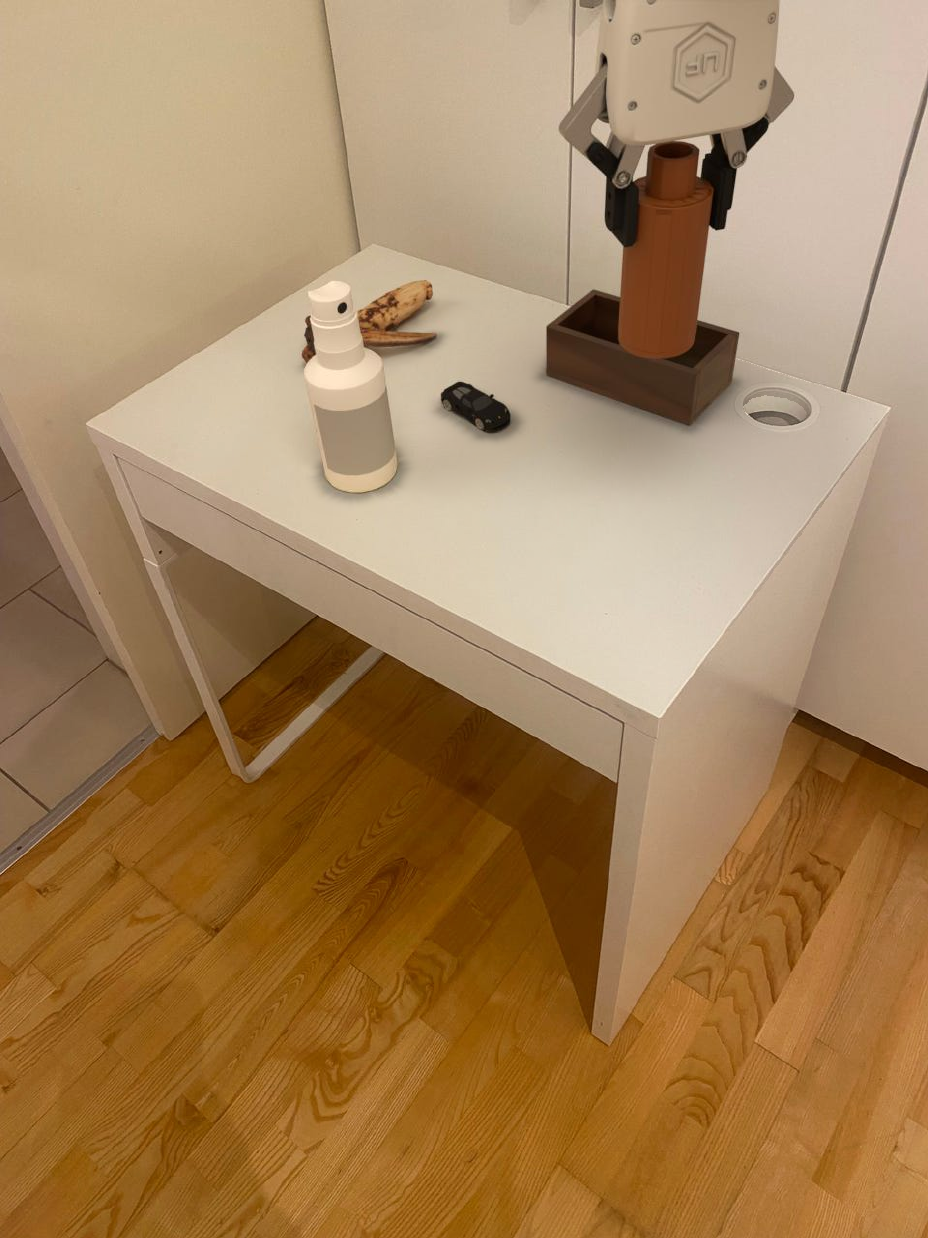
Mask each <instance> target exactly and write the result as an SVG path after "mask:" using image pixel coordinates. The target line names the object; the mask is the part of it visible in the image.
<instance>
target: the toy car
mask: <svg viewBox="0 0 928 1238" xmlns="http://www.w3.org/2000/svg"><path fill="white" fill-rule="evenodd" d="M494 396H495V395H494V394H493V393H492V394H487V393H485V392H483V391H481V390H480V389H478V388H476V387H475V386H474V385H472V384H471V383H466V382H464V381H460V380H459V381H457V382H455V383H452V384H451V385H449V386H447V387H446V388H444V389H443V391H442V392H441V393H440V402H441V403H442V404H443V407H444V408H445V409H446V411H448V412H451V411H453V412H454V413H455V414H457V415H459V416H461V417H463V418H464V419H466V420H467V421H468V422H470V423H472V424H473V425H474V426H476V427H477V428H478V429H479V430H481V431H484V432H491V433H493V432H498V431H500V430H502V429H504V428H506V427H507V426H508V425H509V424H510V423H511V420H512V419H511V412H510V409H509V408H508V406H507V405H506V404H505V403H503V402H501V401H499V400H497V399H496V398H494Z"/></svg>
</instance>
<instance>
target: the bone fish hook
mask: <svg viewBox="0 0 928 1238" xmlns="http://www.w3.org/2000/svg"><path fill="white" fill-rule="evenodd" d="M433 295H434V292H433V284H432V283H431V282H430V281H427V279H424V280H415V281H414V280H413V281H411V282H407V283H406V284H403V285H401V286H399V287H397V288H395V289H394V290H391V291H388V292H385V294H383V295H382V296H380V297H378V298H376V299H375V300H373V301H372V302H370V303H369V304H368V305H366V306H365V307H364V308H361V309H359V310H356V311H357V314H358V320H359V326H360V333H361V335H362V339H363V345H364V347H365V348H367V347H368V348H369V347H372V348H395V347H396V348H397V347H410V346H418V345H423V344H426V343H429V342H431V341H433V340H435V339H436V338H437V336H438V335H437V333H434V332H418V331H417V332H416V331H415V332H414V331H392V330H393V329H396V327H397V326H398V325H399V324H400V323H401V322H403V321H404V320H406V319H407V318H409V317H410V316H411V315H412V314H413V313H414V312H415V311H418V310H419V309H420V308H421V307H423V306H424V305H425V304H426V301H429V300H432V298H433ZM310 318H311V315H307V316H306V317H305V319H304V322H305V324H306V328H305V329H304V330H305V331H304V334H303V336H304V338H305V341H306V345H305V346H304V348H303V350H302V351H301V358H302V359H303V360H304V361H305V363H306V364H307V363H308V362H309V361H310V360H311V359H312V357H313V356H315V355H316V351H315V346H314V336H313V331H312V326H311V321H310Z"/></svg>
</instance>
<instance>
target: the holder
mask: <svg viewBox="0 0 928 1238" xmlns="http://www.w3.org/2000/svg"><path fill="white" fill-rule="evenodd" d="M619 308H620V296H618V295H614V294H611V293H607V292H604V291H601V290H598V289H591V290H590V291H589V292H587V293H586V294H585V295H584V296H583V297H581V298H580V299H579V300H577V301H576V302H575V303H573V305H571V306H570V307H569V308H567V309H566V310H565V311H563V312H562V313H561V314H560V315H558V316H557V317H556V318H555V319H553V320H552V321H551V322H550V323H548V324H547V325H546V326H545V329H546V330H545V332H546V334H545V335H546V338H545V339H546V340H545V343H546V344H545V345H546V348H545V351H546V352H545V353H546V357H545V359H546V362H545V363H546V364H545V365H546V366H545V367H546V368H545V369H546V370H545V373H546V374H545V375H546V376H547V377H550V378H553V379H556V380H558V381H561V382H564V383H566V384H570V385H573V386H575V387H578V388H581V389H584V390H586V391H589V392H592V393H595V394H598V395H600V396H604V397H607V398H609V399H611V400H615V401H618V402H620V403H624V404H626V405H630V406H632V407H635V408H638V409H641V410H643V411H646V412H648V413H652V414H655V415H657V416H661V417H664V418H665V419H669V420H672V421H675V422H677V423H680V424H683V425H686V426H690V427H691V425H692V424H693V423H694V422H695V421H696V420H697V419H698V418H699V417H700V416H701V415H702V414H703V413H704V412H705V411H706V410H707V409H708V408H709V407H710V406H711V405H712V404H713V403H714V402H715V401H716V399H717V398H719V396H721V395H722V394H723V392H725V390H726V389H727V388H728V387H729V386H730V385H731V384H732V382H733V376H734V371H735V365H736V357H737V351H738V347H739V346H738V345H739V339H740V332H739V331H736V330H733V329H729V328H726V327H723V326H719V325H716V324H713V323H709V322H706V321H702V320H699V319H697V327H696V334H695V340H694V344H693V345H692V347H691V348H690V349H689V350H688V351H686V352H685V353H683V354H681V355H678V356H675V357H671V358H663V359H652V358H645V357H640V356H637V355H634V354H632V353H630V352H628V351H626V350H625V349H624V348H623V347H622V346H621V345H620V343H619V340H618V325H619Z"/></svg>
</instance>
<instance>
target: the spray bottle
mask: <svg viewBox="0 0 928 1238" xmlns="http://www.w3.org/2000/svg"><path fill="white" fill-rule="evenodd" d="M307 296H308V302H309V307H310V316H311V318H310V321H311V326H312V331H313V336H314V346H315V351H316V355H315V356H313V357H312V359H311V360H310V361H309V362H308V363H306V364H305V366H304V369H303V379H304V383H305V387H306V392H307V396H308V401H309V406H310V412H311V415H312V420H313V424H314V429H315V434H316V439H317V444H318V449H319V452H320V456H321V457H320V458H321V461H322V466H323V471H324V475H325V479H326V480H327V481H328V482H329V483H330V485H331V486H333V487H334V488H335V489H337V490H339V491H343V492H346V493H365V492H371V491H374V490H377V489H379V488H382V487H384V486H385V485H386V484H388V483H389V482H390V481H391V480H392V479H393V478H394V476H395V475H396V473H397V470H398V465H399V464H398V463H399V462H398V456H397V450H396V443H395V436H394V429H393V428H394V427H393V423H392V422H393V421H392V416H391V409H390V401H389V394H388V388H387V381H386V374H385V367H384V363H383V360H382V357H381V356H380V355H379V354H378V353H376V351H374V350H372V349H370V348H369V347H368V348H367V347H366V346H364V345H363V339H362V335H361V333H360V326H359V320H358V314H357V311H358V310H357V309H356V308H355V305H354V301H353V295H352V290H351V287H350V285H349V284H348V283H346V282H344V281H339V280H331V281H329V282H328V283H326V284H325V285H322V286H320V287H319V288H316V289H313V290H308V292H307Z"/></svg>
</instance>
